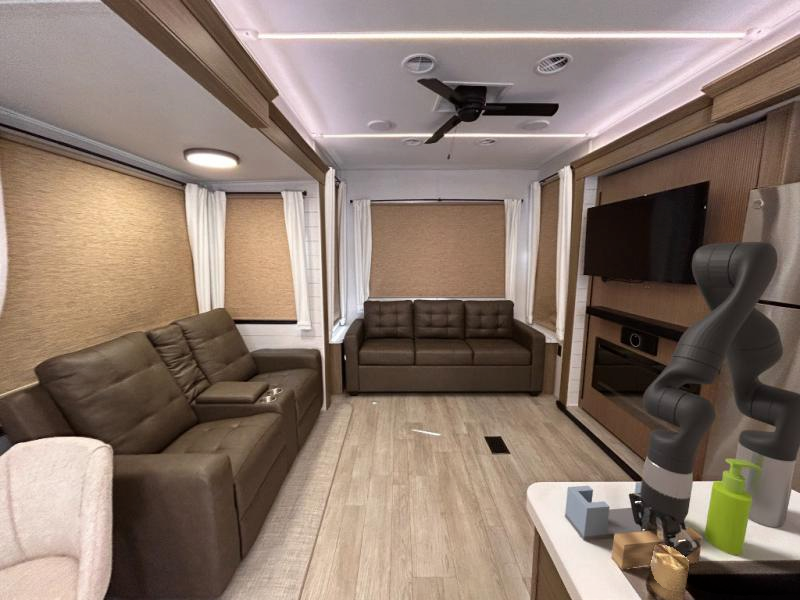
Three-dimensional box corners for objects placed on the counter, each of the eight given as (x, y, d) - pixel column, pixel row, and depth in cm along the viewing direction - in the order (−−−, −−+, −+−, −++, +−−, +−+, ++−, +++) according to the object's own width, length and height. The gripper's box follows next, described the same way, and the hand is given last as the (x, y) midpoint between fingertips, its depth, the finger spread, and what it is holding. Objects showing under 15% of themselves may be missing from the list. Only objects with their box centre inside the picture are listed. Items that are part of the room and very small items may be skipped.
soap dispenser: (756, 559, 65) (772, 473, 63) (717, 552, 67) (732, 468, 64) (732, 535, 71) (746, 455, 69) (697, 529, 72) (710, 451, 70)
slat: (686, 551, 67) (690, 527, 66) (698, 563, 64) (702, 537, 64) (611, 559, 65) (614, 533, 64) (621, 570, 62) (624, 544, 62)
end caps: (651, 509, 78) (655, 480, 77) (677, 531, 72) (682, 500, 71) (564, 516, 75) (567, 486, 74) (583, 540, 69) (587, 508, 68)
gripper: (721, 509, 56) (707, 591, 58) (650, 460, 70) (641, 528, 72) (685, 512, 55) (672, 595, 57) (621, 461, 69) (612, 530, 71)
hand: (655, 557), depth 65 cm, fingers open, 3 cm apart
